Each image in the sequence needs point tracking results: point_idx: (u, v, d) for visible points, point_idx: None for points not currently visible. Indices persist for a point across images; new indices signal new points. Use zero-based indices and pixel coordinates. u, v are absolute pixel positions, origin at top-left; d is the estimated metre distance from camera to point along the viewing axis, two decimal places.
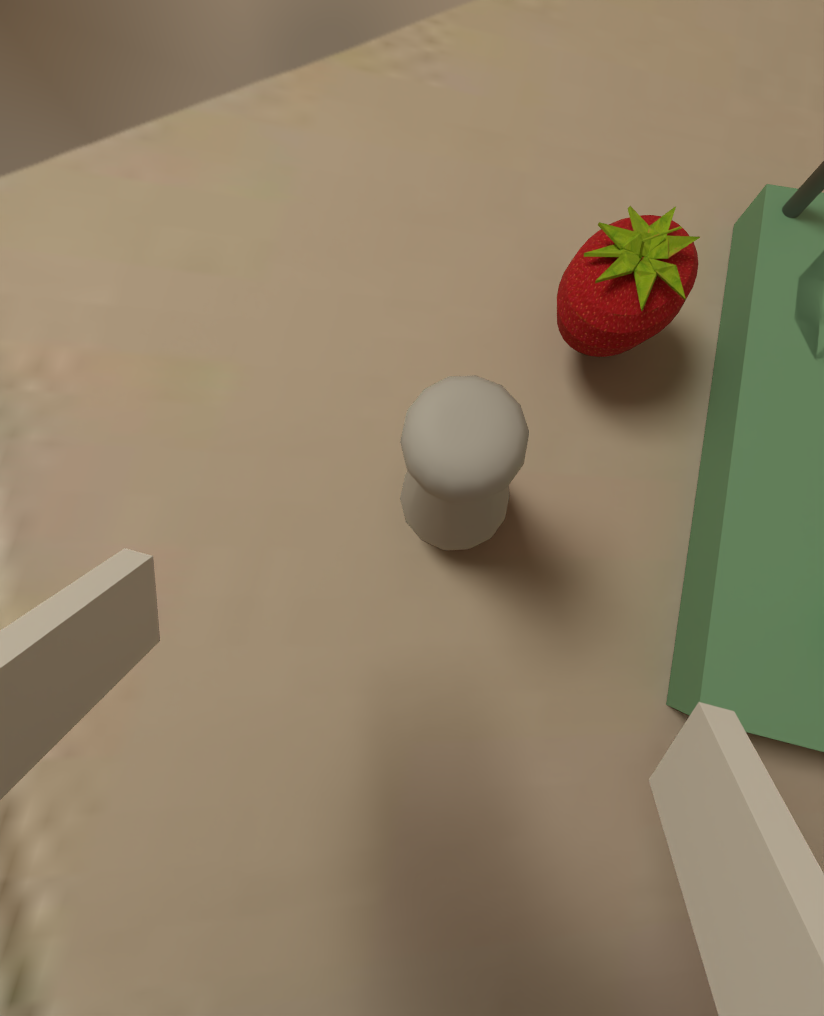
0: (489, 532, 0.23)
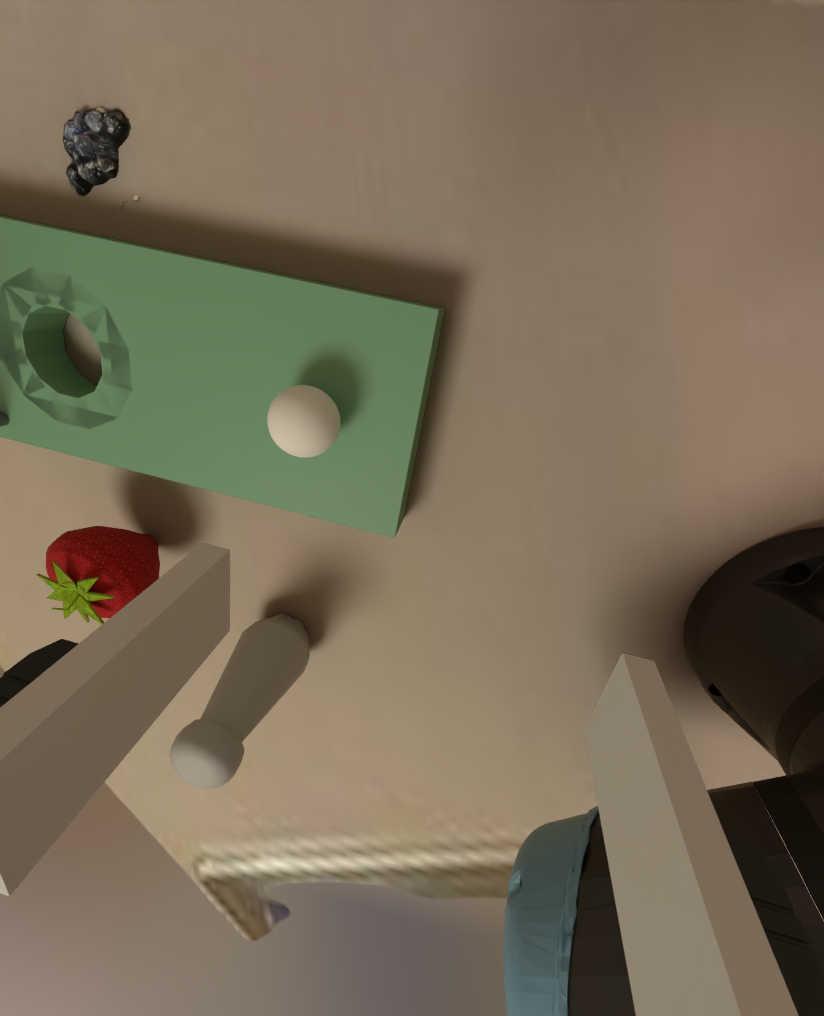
0: (287, 648, 0.35)
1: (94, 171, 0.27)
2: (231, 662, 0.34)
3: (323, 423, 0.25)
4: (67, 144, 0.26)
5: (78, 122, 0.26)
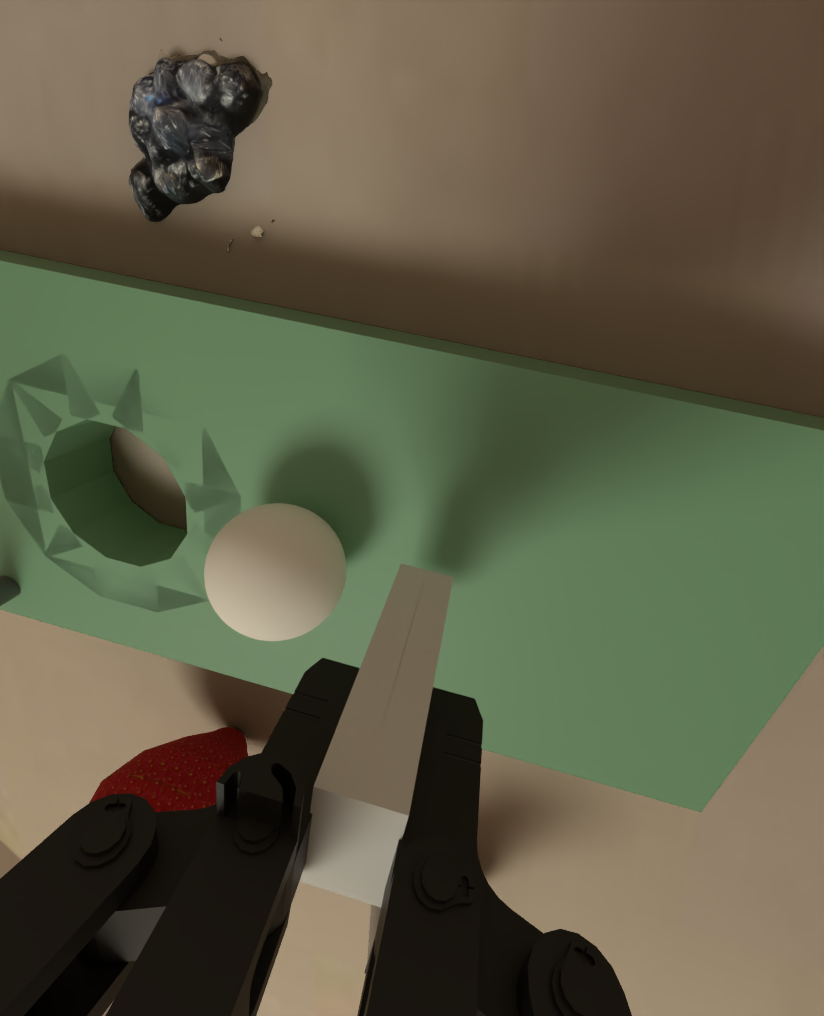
0: None
1: (184, 180, 0.14)
2: None
3: None
4: (137, 125, 0.14)
5: (164, 81, 0.13)
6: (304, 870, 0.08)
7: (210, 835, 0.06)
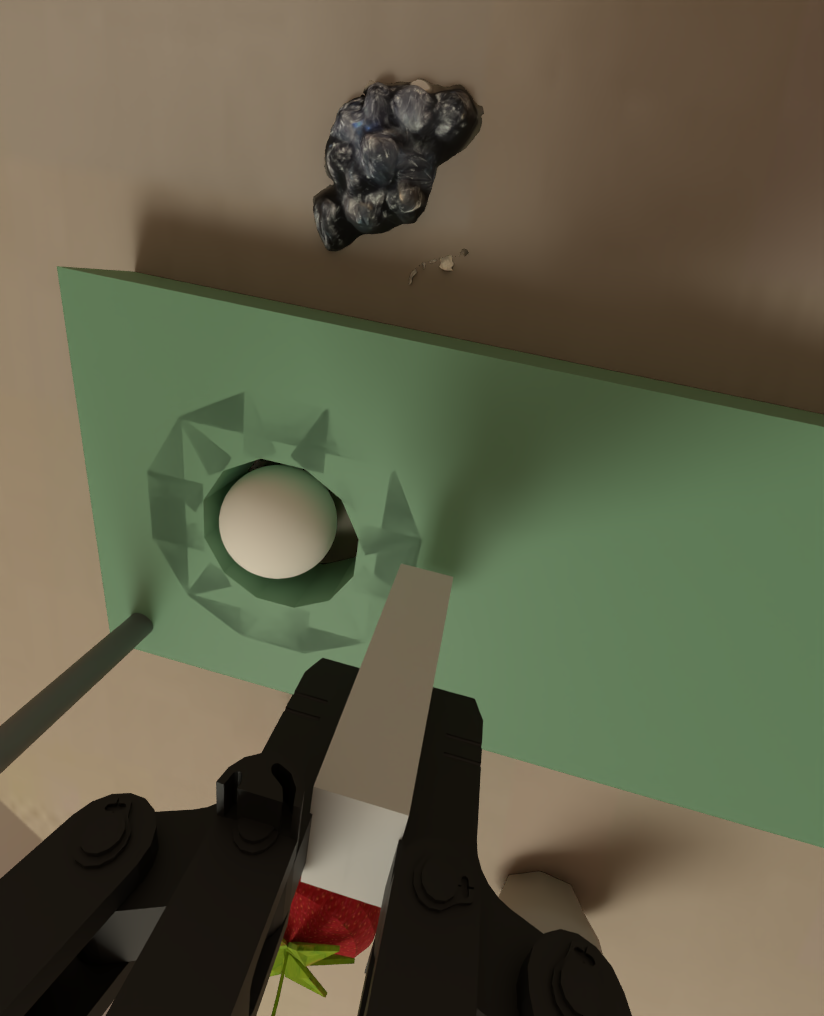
0: None
1: (379, 210, 0.13)
2: None
3: None
4: (338, 153, 0.13)
5: (377, 108, 0.12)
6: (304, 870, 0.08)
7: (210, 834, 0.06)
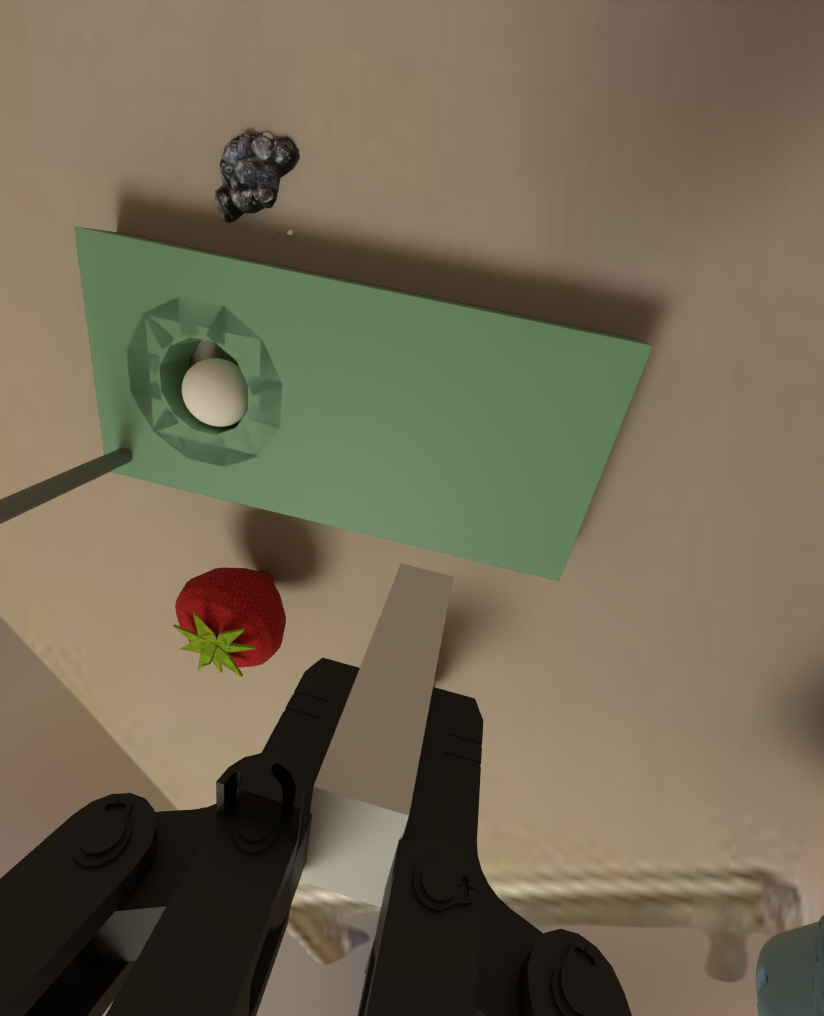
0: None
1: (250, 200, 0.25)
2: None
3: None
4: (225, 168, 0.24)
5: (244, 146, 0.23)
6: (304, 870, 0.08)
7: (211, 834, 0.06)
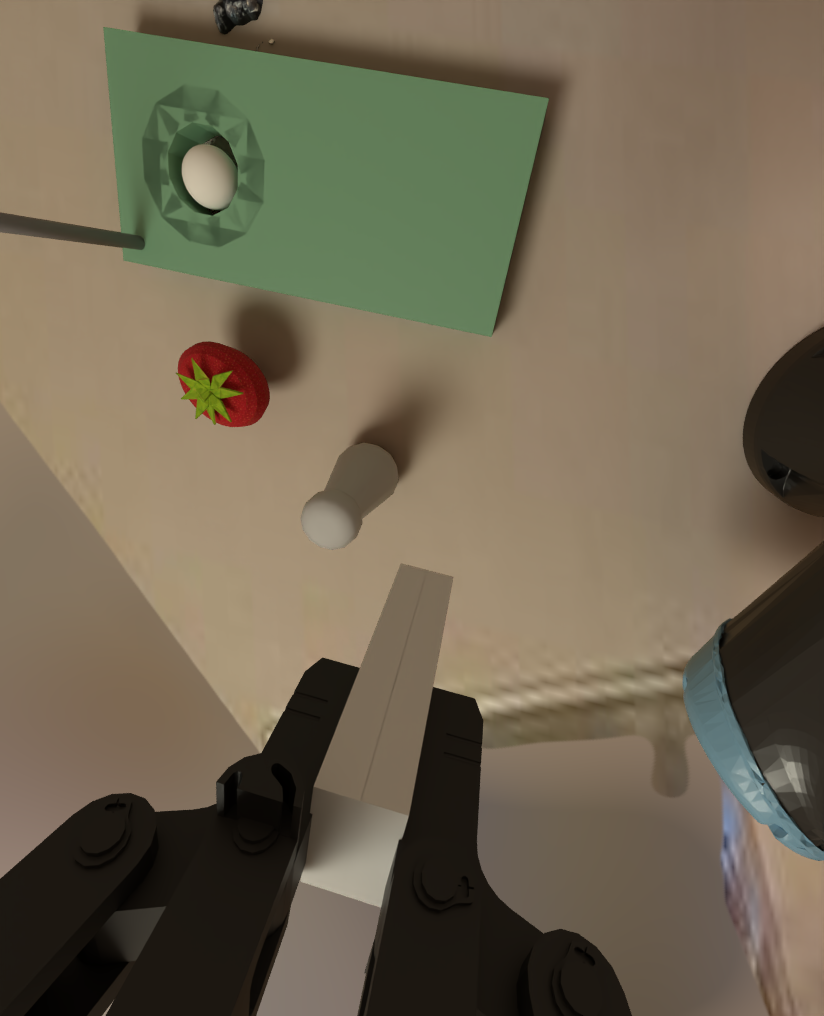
0: (384, 461, 0.39)
1: (240, 11, 0.31)
2: (337, 468, 0.38)
3: None
4: None
5: None
6: (304, 870, 0.08)
7: (210, 834, 0.06)
